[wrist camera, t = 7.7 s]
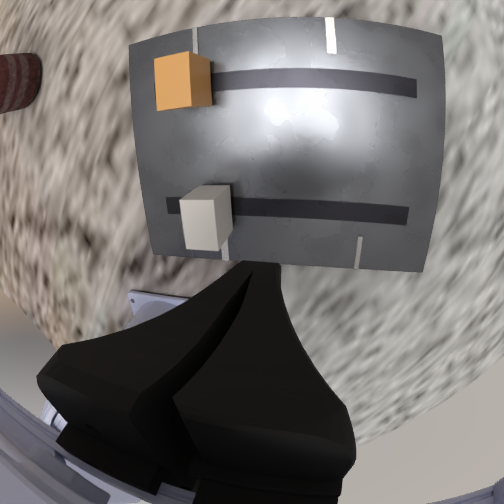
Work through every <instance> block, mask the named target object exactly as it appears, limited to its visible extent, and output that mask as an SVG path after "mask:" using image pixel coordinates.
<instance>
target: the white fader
mask: <svg viewBox="0 0 504 504" xmlns="http://www.w3.org/2000/svg"><path fill="white" fill-rule="evenodd" d="M179 201H180V209H181V216H182V224H183V230H184V237H185V244H186V249H193V250H208V251H219V250H220V248H221V247H222V245H223V244H224V242H225V241H226V239H227V238H228V237H229V235H230V234H231V232H232V231H233V224H232V210H231V196H230V185H200V186H198V187H197V188H195V189H194V190H192V191H191V192H190V193H188V194H187V195H185V196H184V197H183V198H181V199H180V200H179Z"/></svg>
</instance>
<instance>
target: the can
mask: <svg viewBox="0 0 504 504" xmlns="http://www.w3.org/2000/svg"><path fill="white" fill-rule="evenodd" d="M40 80H41V65H40V62H39V60H38V58H37V57H36V56H35V55H33V54H32V53H20V54H5V55H0V114H2V113H6V112H10V111H15V110H19V109H22V108H25V107H26V106H27V105H28V104H29V103H30V102H31V101H32V100H33V99H34V97H35V95H36V94H37V91H38V88H39V85H40Z"/></svg>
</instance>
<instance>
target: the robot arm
mask: <svg viewBox="0 0 504 504" xmlns="http://www.w3.org/2000/svg"><path fill="white" fill-rule="evenodd" d="M127 295H128V299H129V302H130V305H131V308H132V311H133V314H134V316H133V318H132V319H131V320H130V321H129V323H128V324H127V325H126V327H125V328H124V329H123V330H122V331H119V332H116V333H112V334H109V335H106V336H102V337H98V338H95V339H90V340H85V341H80V342H75V343H70V344H64V345H62V346H61V347H60V348H59V349H58V350H57V352H56V353H55V354H54V355H53V356H52V358H51V359H50V360H49V361H48V362H47V364H46V365H45V366H44V367H43V368H42V370H41V371H40V372H39V374H38V375H37V383H38V386H39V388H40V390H41V392H42V393H43V394H44V396H45V397H46V398H47V401H46V403H45V405H44V407H43V410H42V413H41V415H40V417H39V418H37V417H36V416H35V415H33V414H32V413H30V412H29V411H27V410H26V409H25V408H24V407H22V406H21V405H20V404H19V403H17V402H16V401H15V400H13V399H12V398H11V397H10V396H9V395H7V394H6V393H5V392H4V391H3V390H2V389H0V504H124V503H136V502H140V500H141V499H142V500H144V501H146V502H149V503H152V504H337V503H338V497H339V496H340V494H341V490H342V480H343V478H344V476H345V475H346V474H347V473H348V471H349V470H350V469H351V468H352V466H353V465H354V463H355V460H356V444H355V437H354V432H353V428H352V424H351V421H350V417H349V414H348V411H347V408H346V406H345V404H344V403H343V402H342V401H341V400H340V399H339V398H338V396H337V395H336V394H335V393H334V392H333V390H332V389H331V388H330V387H329V385H328V384H327V383H326V382H325V380H324V379H323V377H322V376H321V375H320V373H319V372H318V370H317V369H316V368H315V366H314V364H313V363H312V361H311V359H310V358H309V356H308V355H307V353H306V351H305V350H304V348H303V346H302V344H301V342H300V340H299V338H298V336H297V334H296V332H295V330H294V328H293V325H292V323H291V321H290V318H289V315H288V312H287V309H286V306H285V303H284V300H283V295H282V291H281V265H280V264H279V263H275V262H261V261H248V260H243V261H241V262H240V263H238V264H237V265H236V266H234V267H233V268H232V269H231V270H229V271H228V272H227V273H225V274H224V275H223V276H221V277H220V278H219V279H217V280H216V281H215V282H213V283H212V284H211V285H209V286H208V287H206V288H205V289H203V290H202V291H200V292H199V293H197V294H196V295H194V296H193V297H191V298H190V299H186V298H178V297H171V296H164V295H157V294H150V293H144V292H137V291H129V292H128V294H127ZM428 504H504V477H503V478H502V479H500V480H499V481H498V482H496V483H495V484H494V485H493V486H490V487H487V488H484V489H481V490H478V491H475V492H472V493H469V494H465V495H462V496H458V497H454V498H450V499H446V500H442V501H438V502H434V503H428Z"/></svg>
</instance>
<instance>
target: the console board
mask: <svg viewBox="0 0 504 504" xmlns="http://www.w3.org/2000/svg"><path fill="white" fill-rule="evenodd" d="M187 51H190V52H192V53H195V54H198V55H200V56H203V57H205V58H208V59H210V77H211V96H212V106H205V107H196V108H188V109H178V110H165V111H157V104H156V89H155V69H154V59H155V58H160V57H164V56H168V55H173V54H177V53H182V52H187ZM129 71H130V91H131V105H132V117H133V128H134V138H135V147H136V155H137V163H138V170H139V177H140V184H141V190H142V197H143V203H144V209H145V214H146V220H147V225H148V230H149V236H150V241H151V246H152V250H153V254H155V255H167V256H180V257H193V258H207V259H220V260H224V261H229V260H234V261H243V260H248V261H261V262H275V263H279V264H292V265H307V266H322V267H338V268H354V269H370V270H387V271H404V272H423V268H424V264H425V260H426V256H427V252H428V248H429V243H430V239H431V234H432V229H433V224H434V219H435V213H436V207H437V201H438V195H439V188H440V180H441V172H442V162H443V151H444V137H445V106H446V97H445V67H444V54H443V43H442V36H441V35H437V34H433V33H429V32H425V31H421V30H417V29H412V28H407V27H402V26H397V25H391V24H385V23H379V22H372V21H363V20H354V19H342V18H334V17H325V18H324V17H282V18H264V19H252V20H242V21H234V22H226V23H219V24H213V25H207V26H202V27H194V28H192V29H187V30H182V31H178V32H174V33H170V34H166V35H162V36H158V37H154V38H151V39H148V40H144V41H141V42H138V43H135V44H131V45H129ZM200 185H230V196H231V210H232V224H233V231H232V232H231V234H230V235H229V237H228V238H227V239H226V241H225V242H224V244H223V245H222V247H221V248H220V250H219V251H208V250H193V249H186V244H185V237H184V230H183V224H182V216H181V209H180V201H179V200H180V199H181V198H183V197H184V196H185V195H187V194H188V193H190V192H191V191H192V190H194V189H195V188H197V187H198V186H200Z"/></svg>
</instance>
